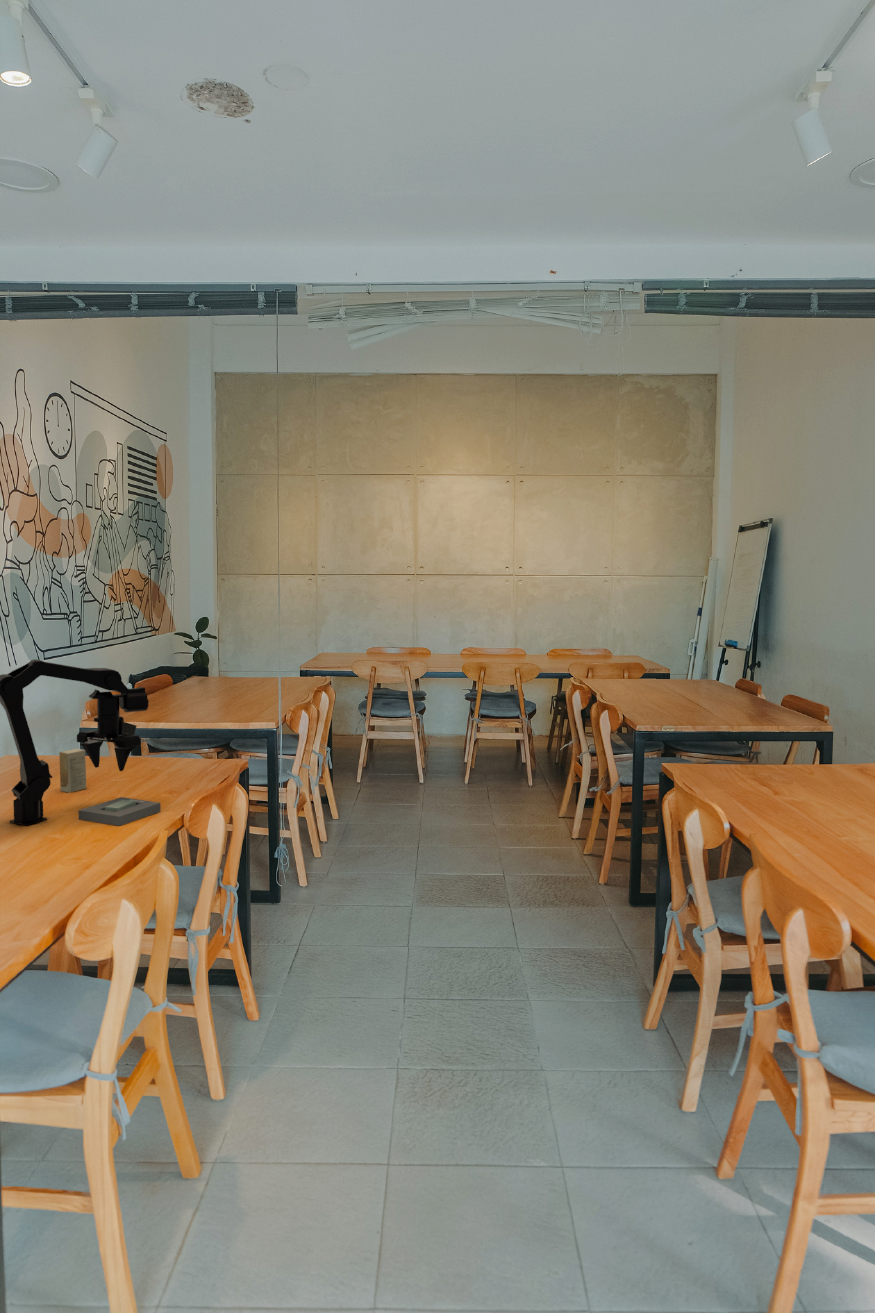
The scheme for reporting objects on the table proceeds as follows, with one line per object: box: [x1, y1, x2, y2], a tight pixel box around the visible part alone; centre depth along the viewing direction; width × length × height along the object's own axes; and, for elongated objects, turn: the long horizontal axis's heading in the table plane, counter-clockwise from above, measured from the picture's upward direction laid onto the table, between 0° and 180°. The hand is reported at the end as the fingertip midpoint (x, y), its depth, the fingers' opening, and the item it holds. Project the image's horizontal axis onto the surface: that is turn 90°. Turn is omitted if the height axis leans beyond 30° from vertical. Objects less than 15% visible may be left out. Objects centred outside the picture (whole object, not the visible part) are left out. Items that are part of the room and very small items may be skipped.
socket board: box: [77, 796, 162, 827], centre depth 221 cm, size 16×14×3 cm
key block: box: [105, 800, 136, 812], centre depth 221 cm, size 4×8×4 cm, turn 167°
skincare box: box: [58, 748, 87, 794], centre depth 247 cm, size 6×4×12 cm
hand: (109, 769), depth 226 cm, fingers open, 9 cm apart
